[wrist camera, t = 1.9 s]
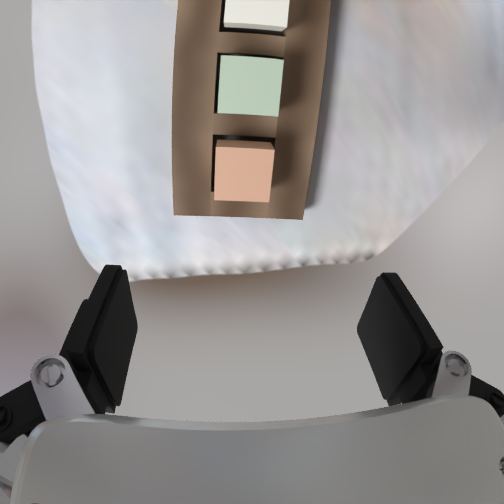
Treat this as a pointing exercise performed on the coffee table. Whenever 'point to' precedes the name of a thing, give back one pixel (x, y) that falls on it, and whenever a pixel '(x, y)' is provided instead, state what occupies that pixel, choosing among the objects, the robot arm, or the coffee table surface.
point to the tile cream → (257, 14)
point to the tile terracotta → (243, 170)
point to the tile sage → (250, 85)
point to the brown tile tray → (243, 125)
